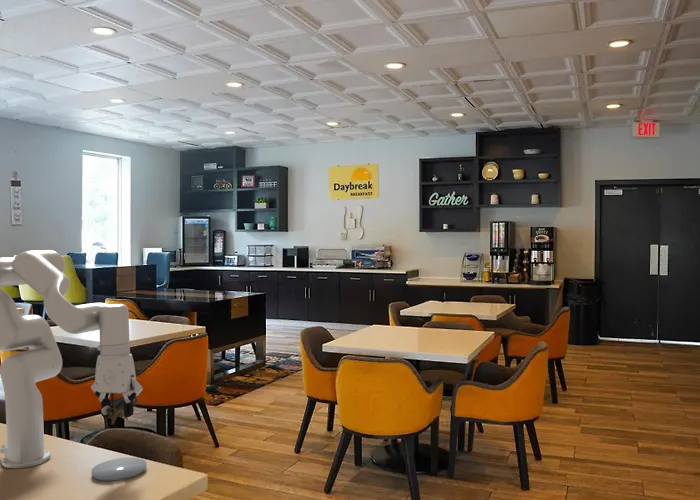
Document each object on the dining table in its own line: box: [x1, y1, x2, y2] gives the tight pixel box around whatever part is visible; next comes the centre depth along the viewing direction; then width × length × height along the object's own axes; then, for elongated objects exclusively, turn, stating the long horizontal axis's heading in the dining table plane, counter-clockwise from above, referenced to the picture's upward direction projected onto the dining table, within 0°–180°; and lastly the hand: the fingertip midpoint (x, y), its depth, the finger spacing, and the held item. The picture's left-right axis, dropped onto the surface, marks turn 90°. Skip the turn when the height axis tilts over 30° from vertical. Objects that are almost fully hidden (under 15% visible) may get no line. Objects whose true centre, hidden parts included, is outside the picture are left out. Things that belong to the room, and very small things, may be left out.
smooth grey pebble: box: [90, 457, 147, 481], centre depth 169 cm, size 14×14×2 cm
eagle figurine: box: [100, 394, 138, 425], centre depth 170 cm, size 8×7×9 cm
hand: (117, 415), depth 169 cm, fingers closed on eagle figurine, 6 cm apart
